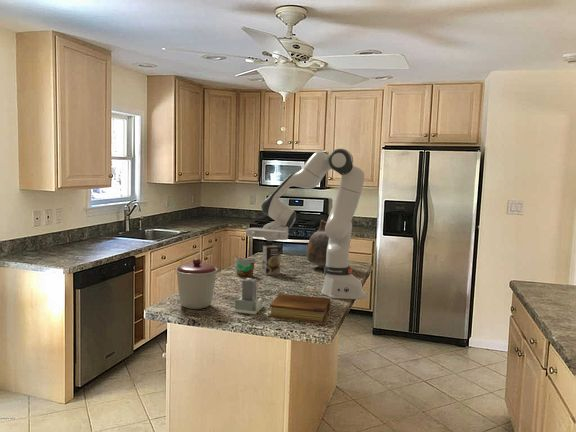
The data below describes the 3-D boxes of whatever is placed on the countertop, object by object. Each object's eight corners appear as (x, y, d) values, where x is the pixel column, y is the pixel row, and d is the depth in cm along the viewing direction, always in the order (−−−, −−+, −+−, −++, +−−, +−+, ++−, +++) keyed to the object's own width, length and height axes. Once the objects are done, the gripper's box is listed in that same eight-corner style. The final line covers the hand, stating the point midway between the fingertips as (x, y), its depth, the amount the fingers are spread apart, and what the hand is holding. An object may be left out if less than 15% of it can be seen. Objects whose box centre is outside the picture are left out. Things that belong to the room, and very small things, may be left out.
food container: (230, 275, 264) (230, 258, 263) (235, 273, 269) (236, 256, 268) (250, 278, 259) (250, 260, 258) (255, 276, 265) (255, 258, 264)
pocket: (263, 306, 209) (263, 295, 208) (255, 314, 198) (255, 302, 198) (242, 304, 211) (242, 293, 211) (233, 311, 201) (233, 300, 200)
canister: (208, 314, 196) (209, 264, 194) (167, 310, 199) (168, 261, 197) (222, 301, 214) (223, 256, 211) (184, 298, 217) (185, 253, 214)
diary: (329, 310, 209) (330, 298, 209) (323, 324, 191) (324, 310, 190) (279, 305, 214) (280, 292, 213) (268, 317, 196) (269, 304, 195)
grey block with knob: (255, 305, 206) (256, 277, 205) (251, 309, 202) (252, 279, 200) (245, 304, 208) (246, 276, 206) (241, 307, 203) (242, 278, 201)
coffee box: (266, 275, 268) (267, 247, 266) (261, 272, 273) (262, 245, 272) (280, 274, 272) (281, 246, 270) (275, 271, 278) (276, 244, 276)
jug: (348, 268, 294) (351, 220, 290) (332, 274, 276) (335, 223, 272) (314, 262, 307) (316, 217, 303) (297, 268, 289) (299, 219, 285)
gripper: (251, 223, 233) (241, 227, 220) (291, 226, 228) (283, 230, 215) (251, 236, 234) (241, 240, 221) (290, 239, 229) (283, 244, 216)
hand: (262, 235), depth 218 cm, fingers open, 8 cm apart
